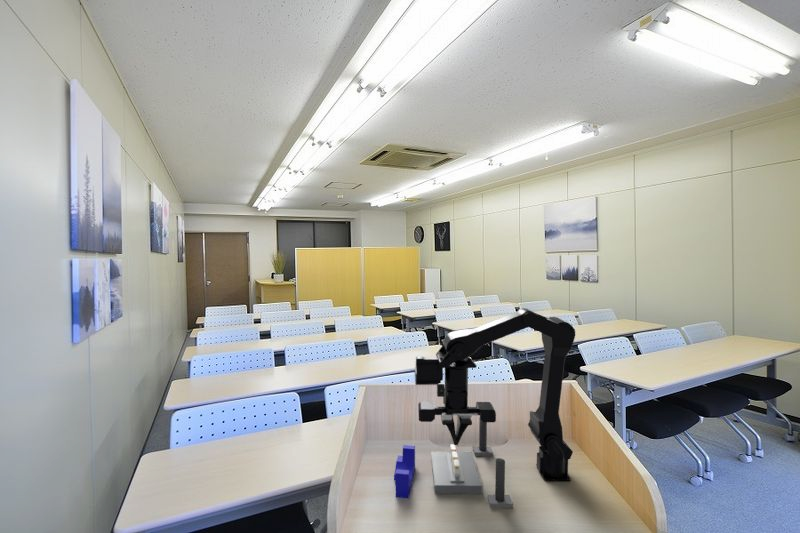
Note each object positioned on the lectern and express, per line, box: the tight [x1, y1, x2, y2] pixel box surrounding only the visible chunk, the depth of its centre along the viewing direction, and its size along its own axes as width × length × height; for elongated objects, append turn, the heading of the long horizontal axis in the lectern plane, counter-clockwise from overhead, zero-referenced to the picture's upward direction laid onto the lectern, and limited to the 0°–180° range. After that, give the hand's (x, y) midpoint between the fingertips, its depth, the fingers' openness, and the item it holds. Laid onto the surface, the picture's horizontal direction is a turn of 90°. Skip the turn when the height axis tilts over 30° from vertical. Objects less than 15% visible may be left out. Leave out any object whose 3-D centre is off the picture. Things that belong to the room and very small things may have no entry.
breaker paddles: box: [449, 443, 460, 478], centre depth 96 cm, size 1×10×3 cm, turn 179°
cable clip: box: [393, 444, 416, 499], centre depth 93 cm, size 12×4×6 cm, turn 170°
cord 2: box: [486, 457, 514, 509], centre depth 85 cm, size 5×3×10 cm, turn 89°
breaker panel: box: [430, 451, 483, 495], centre depth 96 cm, size 11×14×2 cm
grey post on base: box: [472, 417, 494, 457], centre depth 105 cm, size 5×3×10 cm, turn 89°
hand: (455, 444), depth 95 cm, fingers closed
